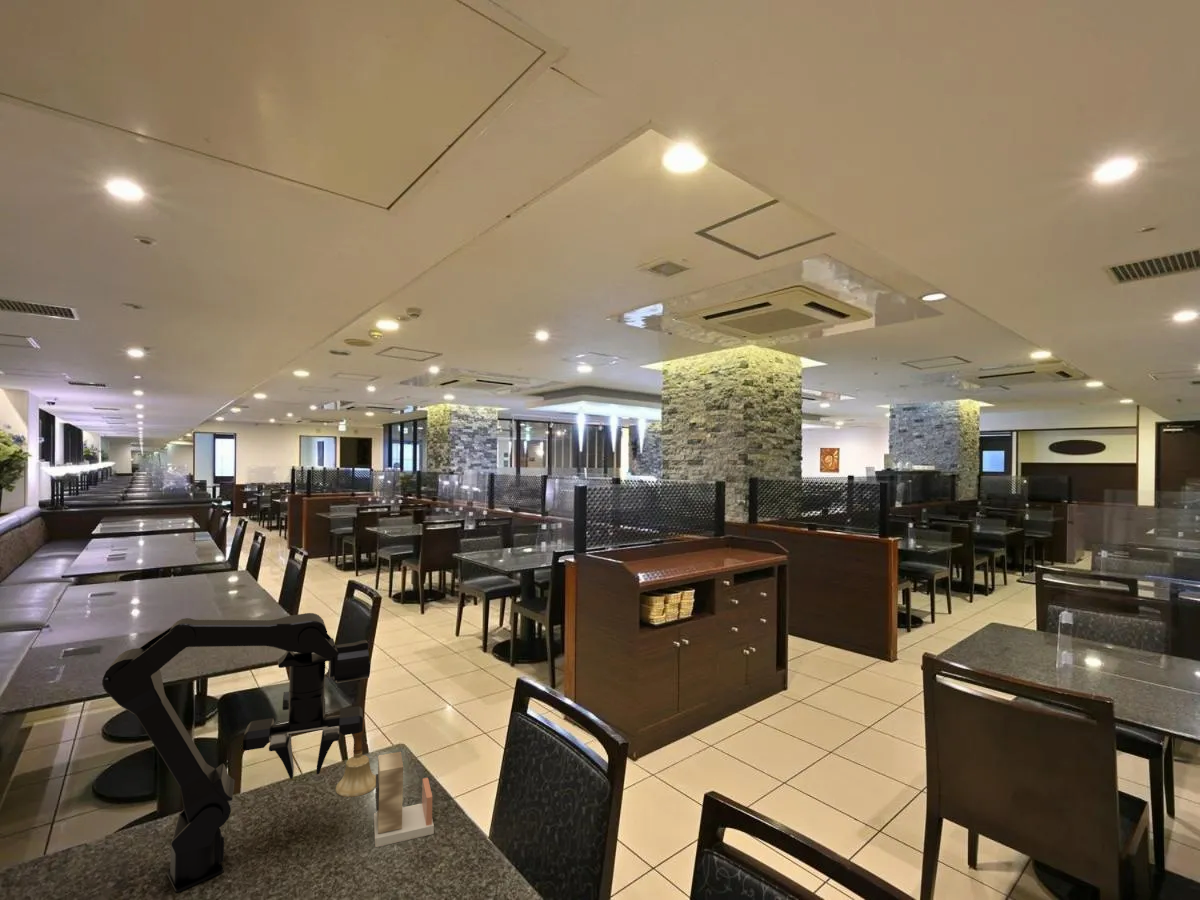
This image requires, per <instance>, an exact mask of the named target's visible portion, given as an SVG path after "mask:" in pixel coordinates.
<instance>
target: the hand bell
mask: <svg viewBox="0 0 1200 900" xmlns="http://www.w3.org/2000/svg"><path fill="white" fill-rule="evenodd" d="M364 731H365V717H364V716H363V731H362V732H360V733H355V734H351V735H352V738H353V739H352V740H353V749H352V750H353V752H352V754H353V756H352V757H350V758H348V759H347V760H346V763H345V768H344V774H343V776H342V778H341V779H340V781H338V783H337V784H336V786H335V793H336V794H337V795H338V796H340V797H344V798H355V797H360V796H363V795H366V794H368V793H370V792H372V791H374V790H375V789H376V774H374V773H373V772H372V769H371V765H370V759H369V756H367V755H363V748H362V747H363V743H362V741H363V739H362V738H363V735H364Z"/></svg>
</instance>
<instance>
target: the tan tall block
mask: <svg viewBox="0 0 1200 900" xmlns="http://www.w3.org/2000/svg"><path fill="white" fill-rule="evenodd" d="M377 759H378V760H377V761H378V763H377V765H378V766H377V773H376V774H375V776H376V787H375V789H374V790H375V792H374V793H375V796H374V797H375V810H376V813H377V821H378V834H379V833H383V832H388V831H392V830H397V829H401V828H402V807H403V797H404V795H403V794H404V793H403V792H404V790H403V788H404V763H403V757H402V752H401V751H397V752H391V753H385V754H380V755H379V754H378V757H377Z"/></svg>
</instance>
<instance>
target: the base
mask: <svg viewBox="0 0 1200 900" xmlns="http://www.w3.org/2000/svg"><path fill="white" fill-rule="evenodd" d="M421 789H422V790H421V792H422V793H421V794H422V795H421V796H422V797H421V803H417V804H413V805H408V806H402V828H401V829H397V830H392V831H388V832H383V833H379V834H378V821H377V812H374V813H373V829H374V833H373V834H374V847H375V848H377V847H379V848H380V847H383V846H389V845H391V844H395V843H400V842H404V841H405V842H406V841H409V840H414V839H417V838H423V837H425V836H426V837H427V836H430V835H434V833H435V832H434V831H435V824H434V820H433V793H432V789H431V785H430V781H429V777H424V778H422V788H421Z"/></svg>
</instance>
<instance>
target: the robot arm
mask: <svg viewBox="0 0 1200 900" xmlns="http://www.w3.org/2000/svg"><path fill="white" fill-rule="evenodd" d="M190 647H191V648H196V647H197V648H200V647H201V648H205V647H206V648H207V647H210V648H211V647H215V648H216V647H217V648H218V647H268V648H269V647H270V648H271V647H272V648H275V649H279V650H282V651H285V653H284V654H283V655H282V656H281V657H280V658H278V659H277V664H278V665H277V667H278V668H280V669H283V668H289V681H288V682H289V687H288V691H284V692H283V696H282V710H283V711H287V710H288V721H287V722H286V723H279V724H275V720H274V717H273V718H272V717H270V718H266V719H265V718H264V719H258V720H252V721H250V722H249V724H247V727H246V729H245V731H244V734H243V739H242V742H243V743H242V750H243V751H252V750H258V749H264V748H265V747H266V746H267V745H268V744H269V746H268V751H269V752H275V753H276V754H277V756H278V757H279V759H280V760H281V762H282V764H283V766H284V768H285V770H286V772H287V774H288V777H289V779H290V780H293V779H294V768H295V767H294V757H293V748H292V747H293V745H292V735H297V734H302V733H303V734H304V733H310V732H315V731H316V732H317V731H322V733H321V738H320V739H321V740H320V743H319V744H320V745H319V751H318V758H317V762H316V775H319V774H320V772H321V770H322V767H323V764H324V762H325V759H326V757H327V754H328V752H329V750H330V748H331V747H332V745H333V743H334V742H337V741H339V740H340V739H341V738H340V736H341V735H343V736H349V735H352V734H355V733H360V732H362V731H363V717H364V713H363V711H364V709H363V708H362V707H361V706H360V705H357V706H352V707H344V708H340V709H339V714H337V715H331V716H327V717H325V715H326V698H325V697H326V695H325V694H326V692H325V690H326V662H328V678H329V679H333V681H334V682H335V683H336V684H340V683H346V682H350V681H351V682H353V681H358V680H364V679H369V678H370V675H371V661H370V655H369V642H368V641H367V640H366V639H364V640H363V639H362V640H359V641H356V642H355V641H354V642H349V643H342V644H341V643H340V644H336V643H335V640H334V638H333V637H331V636H330V635H329V633H328V630H327V627H326V624H325V621H324V619H323V618H322V617H321V616H320V615H319V614H316V613H313V612H307V613H306V612H305V613H301V614H300V613H299V614H293V615H292V614H291V615H287V616H283V617H281V618H276V619H267V620H266V619H265V620H263V619H259V620H258V619H193V618H189V617H187V618H186V617H185V618H181V619H179V620H177V621H176V622H175V623H173V624H172V625H171V626H170V627H169V628H168V629H165V630H164V631H163V632H161V633H159V634H158V635H156V636H154V637H153V638H152V639H150V640H149V641H147V642H146V643H144V644H143V645H141V646H140V647H137V648H131V649H128V650H125V651H123V652H122V653H121V654H119V655H118V656H117V657H116V659H114V660H113V662H112V663H111V665H110V666H109V667H108V668H107V670H106V671H105V672H104V673H105V674H104V675H103V677H102V681H101V682H102V687H103V690H104V691H105V692H106V693H107V694H108V695H109V696H110V698H112V700H113V701H114V702H115V703H116V704H117V705H119V706H120V707H121V708H122V709H124V710H126V711H128V712H130V713H131V714H133V715H134V716H135V717H136V718H137V720H138V721H139V723H140V725H141V726H142V728H143V730H144V732H145V733H146V734H147V736H148V738H149V739H150V742H151V743H152V744H153V745H154V748H155V749H156V752H157V753H158V754H159V756H160V758H161V759H162V760H163V762H164V764H165V765H166V767H167V769H168V770H169V772H170V773H171V776H172V777H173V778H174V780H175V782H176V783H177V785H178V786H179V789H180V790H179V791H180V796H181V800H182V806H183V810H182V811H180V812H179V814H178V816H177V820H176V825H175V828H174V833H173V836H172V839H170V863H169V864H170V866H169V867H170V868H169V869H168V870H167V871H166V875H167V877H168V879H169V881H170V883H171V886H172V887H173V889H174V892H175V893H179V892H182V891H185V890H187V889H189V888H191V887H193V886H195V885H198V884H200V883H202V882H204V881H206V880H208V879H211V878H213V877H215V876H218V875H221V874H222V873H223V872H224V867H223V865H222V863H223V862H224V859H225V858H224V857H225V836H224V835H223V833H221V832H222V830H221V827H222V826H224V825H225V823H226V822H227V820H229V817H230V815H231V811H232V803H233V796H234V789H235V781H236V780H235V779H234V778H232V777H231V776H230V775H229V774H228V771H227V767H226V765H225V763H221V764H220V765H219V766H217V767H216V768H215V767H214V766H211V765H209V764H208V762H206V761H205V758H204V757H203V755H202V754H201V752H200V750H199V749H198V748H197V745H196V744H195V742H194V740H193V739H192V737H191V736H190V734H189V731H188V730H187V729H186V727H185V725H184V724H183V722H182V720H181V719H180V716H179V715H178V713H177V712H176V710H175V709H174V707H173V705H172V703H171V702H170V700H169V699H168V697H167V695H166V693H165V692H166V691H165V687H164V684H163V683H164V682H163V676H162V671H161V669H162V668H163V667H164V666H165V665H166V664H168V663H169V662H170V661H171V660H172V659H174V657H176V656H178V654H179V653H181V652H182V651H184V650H185V649H186V648H190Z"/></svg>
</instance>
